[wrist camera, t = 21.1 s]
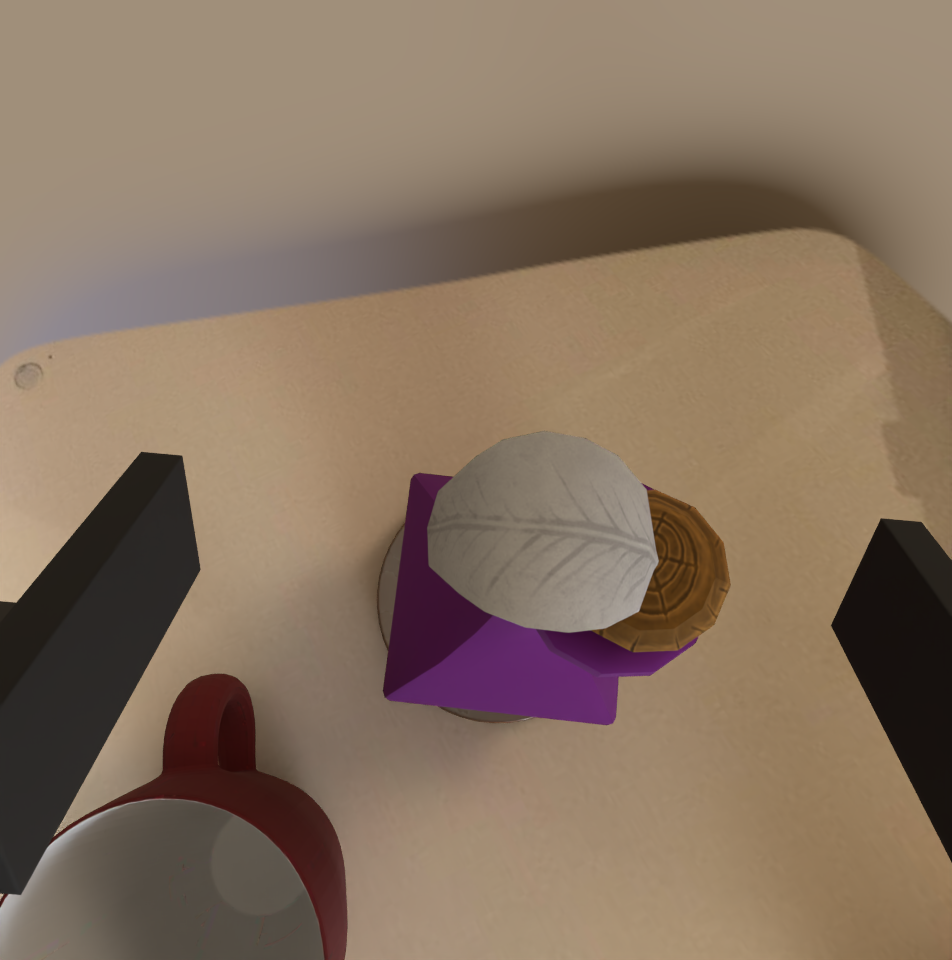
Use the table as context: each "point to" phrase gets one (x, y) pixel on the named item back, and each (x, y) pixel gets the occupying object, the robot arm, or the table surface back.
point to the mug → (190, 858)
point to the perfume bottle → (546, 582)
